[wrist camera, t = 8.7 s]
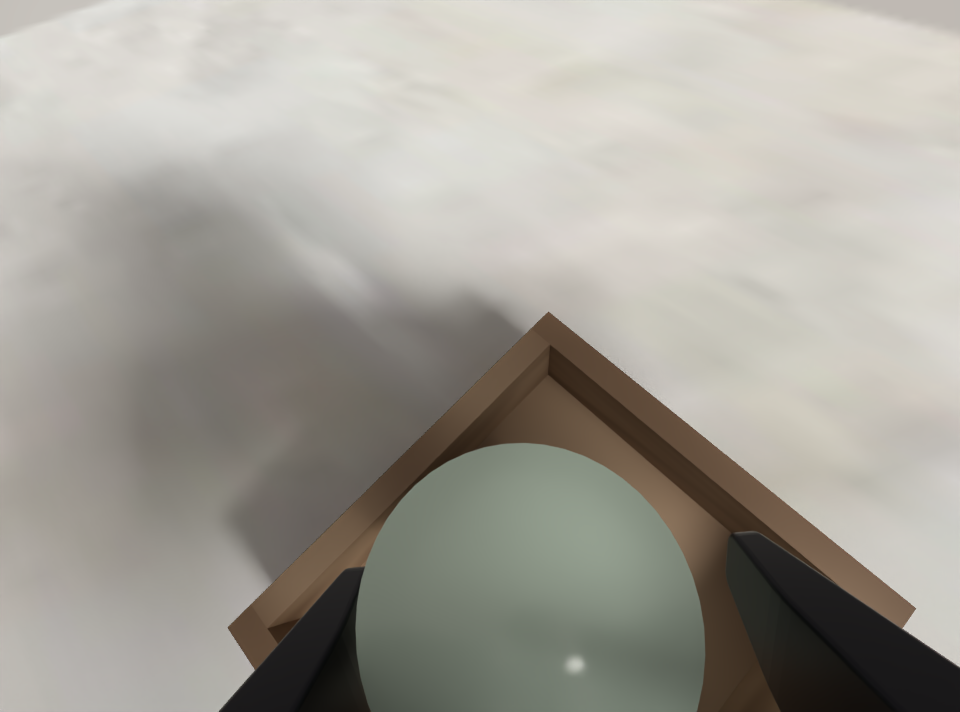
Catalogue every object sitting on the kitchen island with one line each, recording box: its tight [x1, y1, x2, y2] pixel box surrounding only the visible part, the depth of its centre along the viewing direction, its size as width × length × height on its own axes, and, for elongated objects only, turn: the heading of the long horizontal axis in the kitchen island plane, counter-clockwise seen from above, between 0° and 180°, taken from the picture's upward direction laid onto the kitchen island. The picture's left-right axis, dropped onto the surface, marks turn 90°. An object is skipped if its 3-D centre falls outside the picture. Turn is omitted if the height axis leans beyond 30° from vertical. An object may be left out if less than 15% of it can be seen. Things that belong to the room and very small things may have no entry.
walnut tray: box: [228, 312, 916, 712], centre depth 14 cm, size 13×12×4 cm
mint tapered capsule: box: [355, 443, 705, 712], centre depth 11 cm, size 4×4×10 cm
